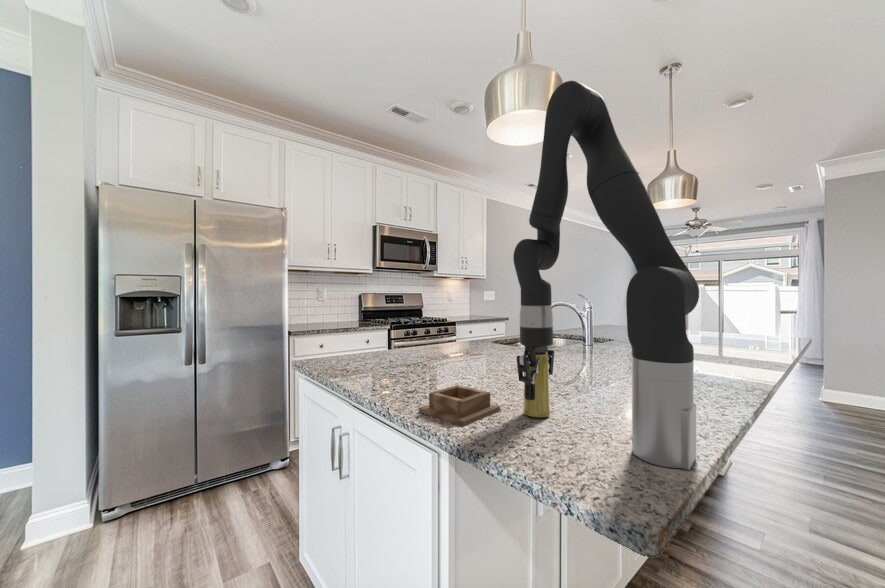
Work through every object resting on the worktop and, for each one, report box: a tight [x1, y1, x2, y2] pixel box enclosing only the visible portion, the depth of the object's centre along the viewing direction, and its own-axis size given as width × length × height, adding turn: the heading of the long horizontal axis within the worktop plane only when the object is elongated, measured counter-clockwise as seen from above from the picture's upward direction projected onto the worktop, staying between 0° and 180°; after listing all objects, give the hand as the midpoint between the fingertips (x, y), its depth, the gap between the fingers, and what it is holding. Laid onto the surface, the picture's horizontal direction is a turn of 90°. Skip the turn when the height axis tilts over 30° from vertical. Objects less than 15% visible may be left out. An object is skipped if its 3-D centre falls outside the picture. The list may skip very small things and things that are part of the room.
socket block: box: [418, 384, 501, 427], centre depth 89 cm, size 14×14×4 cm
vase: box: [522, 352, 551, 418], centre depth 86 cm, size 6×6×14 cm
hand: (536, 396), depth 86 cm, fingers closed on vase, 5 cm apart
